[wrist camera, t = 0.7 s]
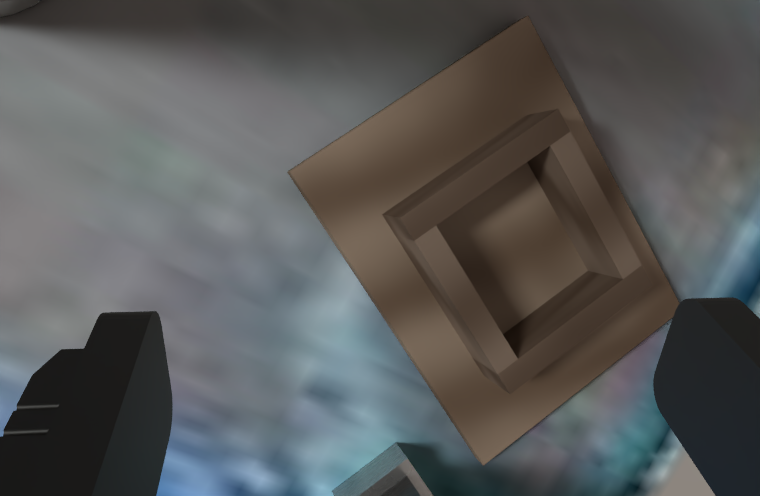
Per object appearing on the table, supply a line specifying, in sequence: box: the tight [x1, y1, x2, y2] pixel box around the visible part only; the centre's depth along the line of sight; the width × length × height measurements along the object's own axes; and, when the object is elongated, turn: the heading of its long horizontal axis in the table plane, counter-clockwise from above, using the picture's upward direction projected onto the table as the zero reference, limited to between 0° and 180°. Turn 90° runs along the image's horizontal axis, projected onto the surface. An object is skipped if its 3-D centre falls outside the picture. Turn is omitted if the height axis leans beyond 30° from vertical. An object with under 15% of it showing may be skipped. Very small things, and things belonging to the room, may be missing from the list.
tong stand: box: [288, 16, 680, 466], centre depth 32 cm, size 18×14×4 cm
